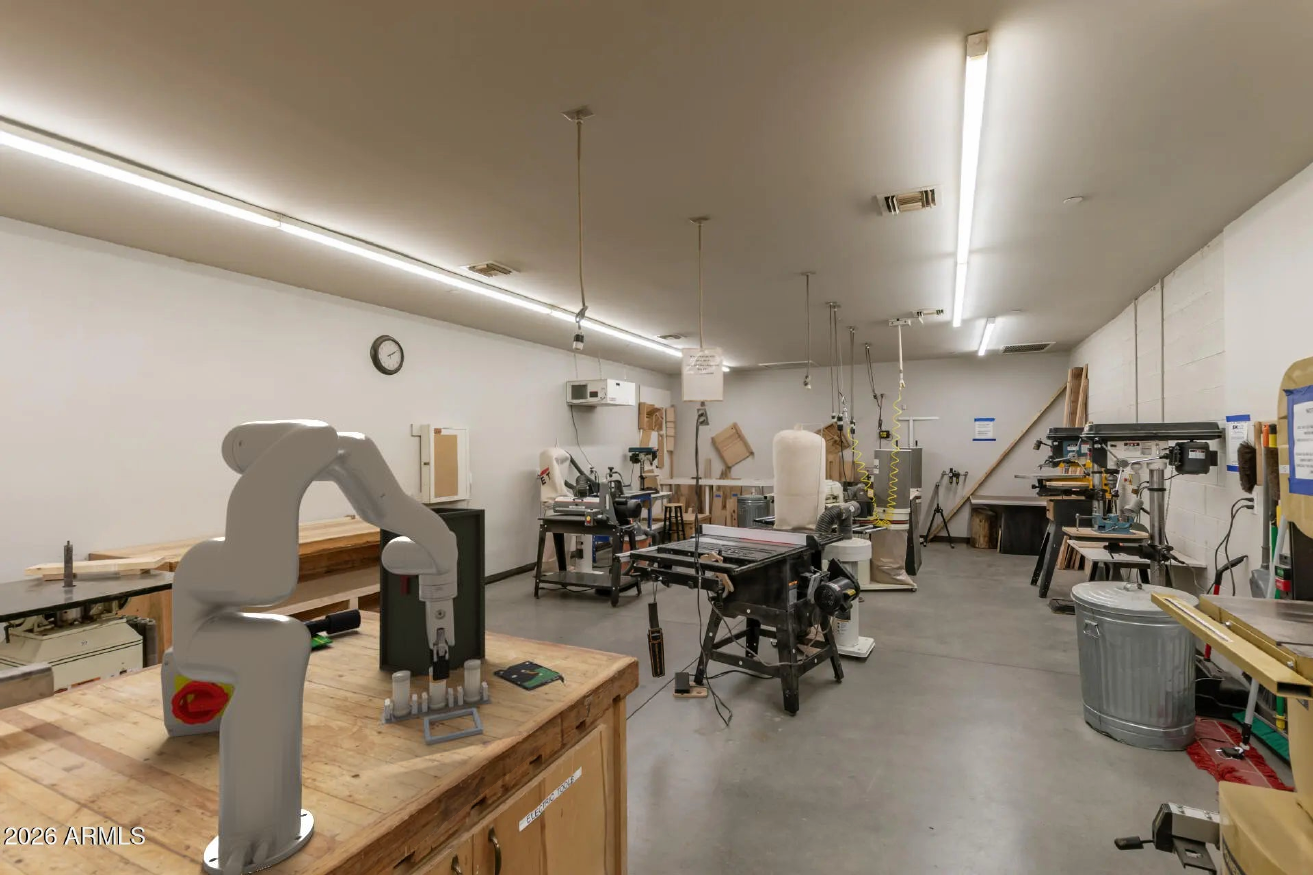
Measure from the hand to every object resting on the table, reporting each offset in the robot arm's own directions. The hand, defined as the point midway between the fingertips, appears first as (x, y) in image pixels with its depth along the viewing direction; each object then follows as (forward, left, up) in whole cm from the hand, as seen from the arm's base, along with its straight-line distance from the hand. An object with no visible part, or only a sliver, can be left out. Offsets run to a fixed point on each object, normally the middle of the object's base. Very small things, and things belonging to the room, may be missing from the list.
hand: (439, 670), depth 118 cm
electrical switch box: (+12, +41, -9) cm, 44 cm away
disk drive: (+7, -20, -10) cm, 24 cm away
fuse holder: (0, 0, -9) cm, 9 cm away
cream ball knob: (0, -7, -7) cm, 10 cm away
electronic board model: (+64, +32, -9) cm, 72 cm away
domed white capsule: (0, +7, -7) cm, 10 cm away
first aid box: (+32, -1, -9) cm, 33 cm away
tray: (-11, -2, -9) cm, 14 cm away
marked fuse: (0, 0, -7) cm, 7 cm away
